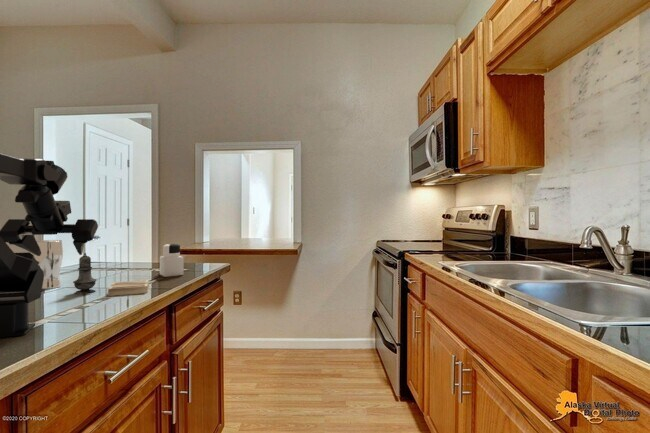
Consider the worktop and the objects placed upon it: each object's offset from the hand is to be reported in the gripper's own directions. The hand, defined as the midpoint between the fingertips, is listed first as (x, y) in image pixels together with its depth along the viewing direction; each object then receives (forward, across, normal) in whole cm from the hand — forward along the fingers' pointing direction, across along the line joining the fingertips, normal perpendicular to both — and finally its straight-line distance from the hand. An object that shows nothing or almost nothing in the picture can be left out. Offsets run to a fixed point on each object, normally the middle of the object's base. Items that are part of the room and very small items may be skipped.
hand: (60, 254), depth 87 cm
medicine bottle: (+35, -21, -22) cm, 46 cm away
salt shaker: (+19, -1, -2) cm, 19 cm away
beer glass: (+26, +13, -11) cm, 31 cm away
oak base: (+18, -13, -2) cm, 22 cm away
